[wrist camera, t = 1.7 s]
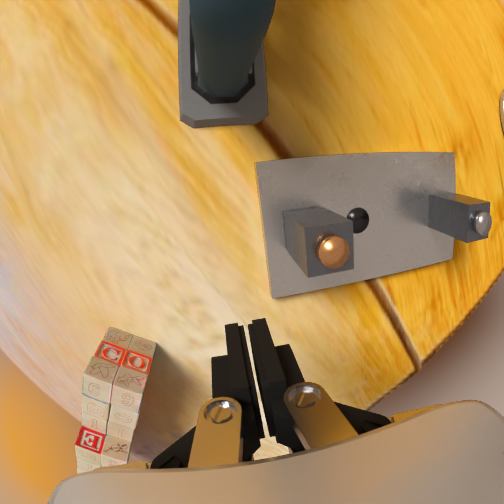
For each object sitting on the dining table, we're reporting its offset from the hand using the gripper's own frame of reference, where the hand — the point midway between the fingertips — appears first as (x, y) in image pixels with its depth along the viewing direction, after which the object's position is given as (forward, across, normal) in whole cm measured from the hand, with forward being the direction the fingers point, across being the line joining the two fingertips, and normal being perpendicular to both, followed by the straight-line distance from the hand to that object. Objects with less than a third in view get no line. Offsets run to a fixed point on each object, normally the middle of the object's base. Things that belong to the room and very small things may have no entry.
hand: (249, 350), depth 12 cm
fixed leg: (+18, -26, 0) cm, 31 cm away
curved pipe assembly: (+19, -3, -28) cm, 34 cm away
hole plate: (+19, -16, 0) cm, 25 cm away
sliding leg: (+18, -8, 0) cm, 19 cm away
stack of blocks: (+20, +18, +19) cm, 33 cm away
